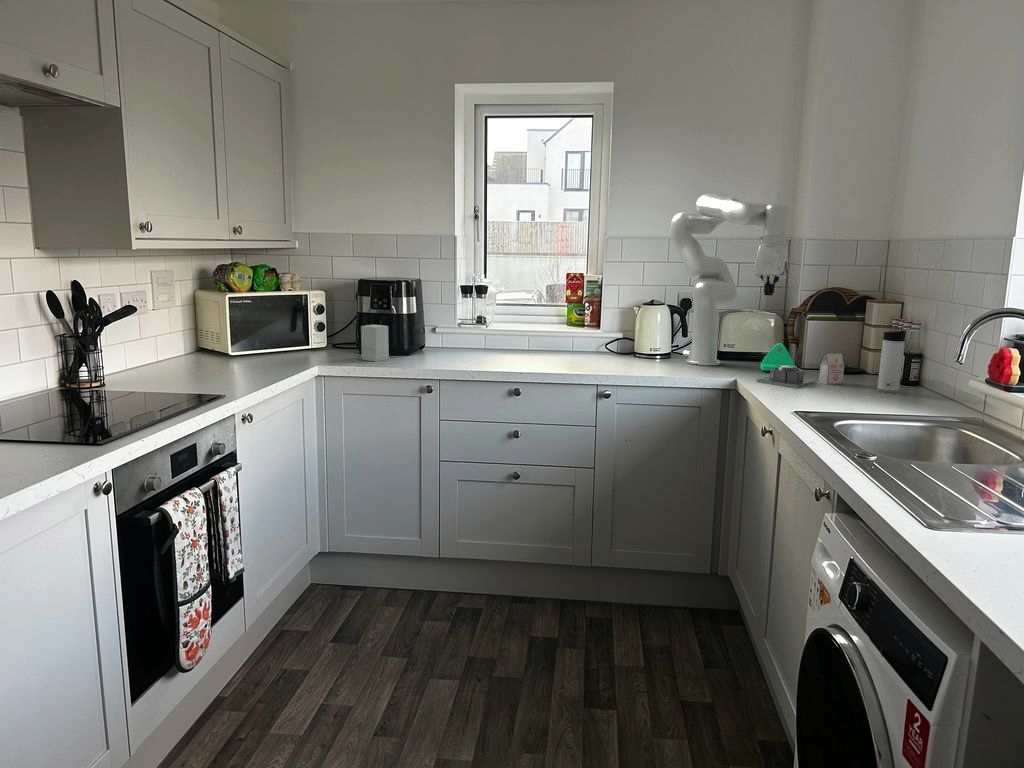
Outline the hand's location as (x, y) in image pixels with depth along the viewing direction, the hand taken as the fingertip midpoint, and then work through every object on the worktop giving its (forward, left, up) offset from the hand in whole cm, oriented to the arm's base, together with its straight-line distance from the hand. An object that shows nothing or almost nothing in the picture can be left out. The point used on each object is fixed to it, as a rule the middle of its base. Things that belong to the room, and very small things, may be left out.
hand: (768, 295), depth 265 cm
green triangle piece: (0, +13, -29) cm, 32 cm away
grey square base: (+12, -6, -28) cm, 31 cm away
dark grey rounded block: (+12, -6, -27) cm, 30 cm away
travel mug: (+41, +5, -29) cm, 50 cm away
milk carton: (+22, +6, -29) cm, 36 cm away
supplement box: (-109, -87, -29) cm, 142 cm away
